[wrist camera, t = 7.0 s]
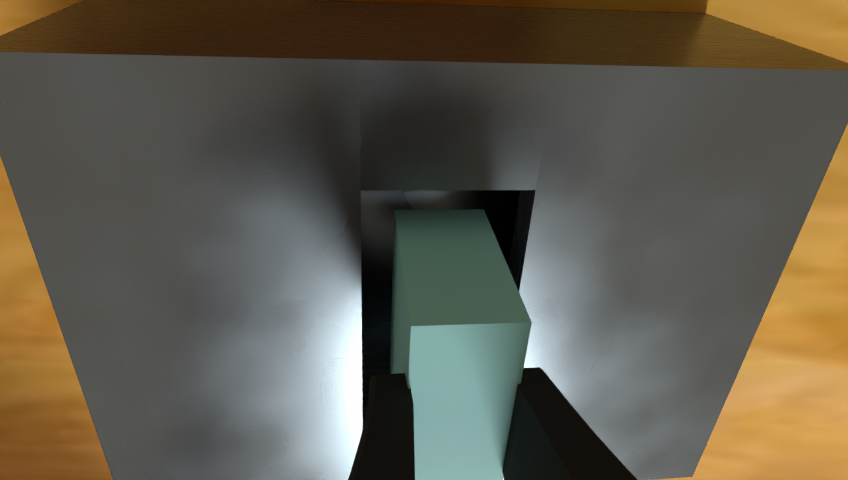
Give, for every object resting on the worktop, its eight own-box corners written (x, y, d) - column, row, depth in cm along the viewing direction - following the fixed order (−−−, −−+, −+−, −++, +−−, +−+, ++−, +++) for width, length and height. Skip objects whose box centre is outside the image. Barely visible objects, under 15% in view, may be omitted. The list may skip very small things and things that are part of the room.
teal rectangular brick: (389, 378, 15) (401, 518, 12) (394, 209, 13) (410, 326, 9) (464, 375, 16) (497, 511, 12) (483, 209, 13) (532, 322, 10)
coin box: (181, 359, 20) (125, 515, 15) (101, -7, 14) (-37, 50, 9) (613, 342, 22) (692, 476, 17) (706, 13, 16) (870, 71, 11)
